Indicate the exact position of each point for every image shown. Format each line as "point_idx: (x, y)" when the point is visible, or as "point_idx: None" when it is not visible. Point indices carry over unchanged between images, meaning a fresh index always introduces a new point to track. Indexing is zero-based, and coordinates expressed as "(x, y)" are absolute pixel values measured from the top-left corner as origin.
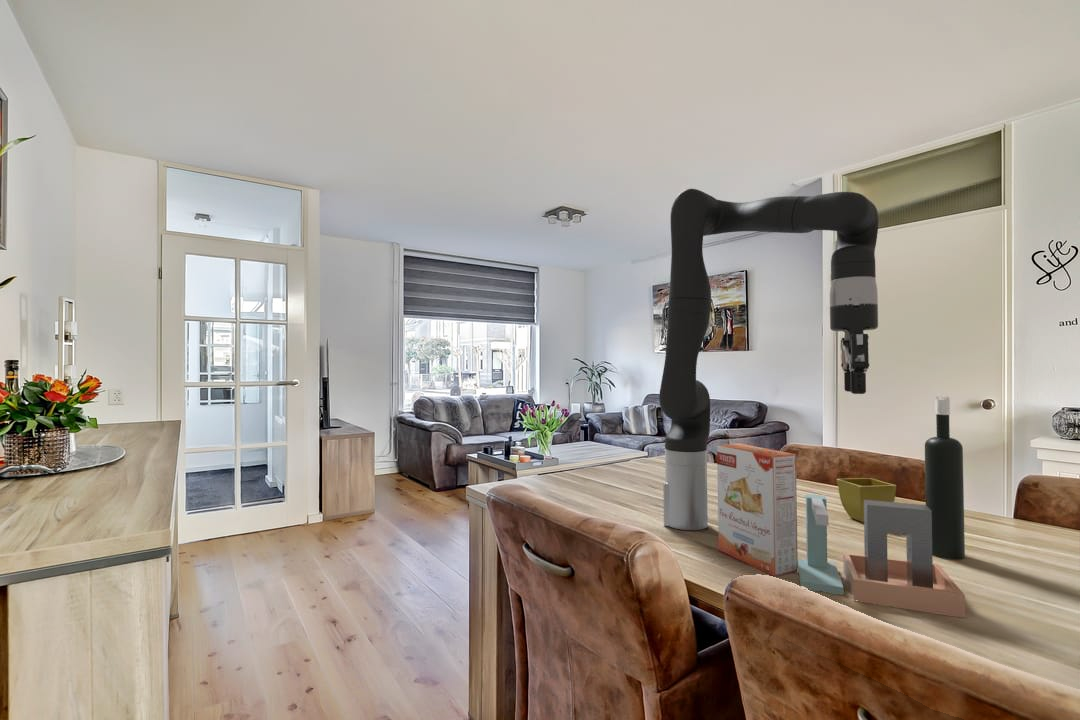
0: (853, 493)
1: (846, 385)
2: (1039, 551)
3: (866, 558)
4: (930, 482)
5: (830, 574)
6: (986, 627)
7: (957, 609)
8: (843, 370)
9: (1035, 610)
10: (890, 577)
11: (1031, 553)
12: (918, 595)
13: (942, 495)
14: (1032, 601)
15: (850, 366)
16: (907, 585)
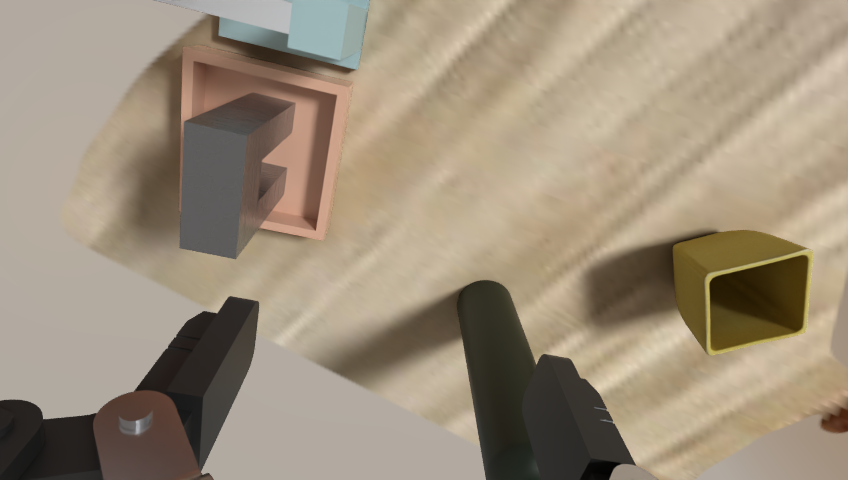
0: (723, 256)
1: (552, 382)
2: None
3: (258, 104)
4: (500, 370)
5: (284, 33)
6: (171, 211)
7: None
8: (634, 473)
9: (260, 303)
10: (314, 153)
11: None
12: None
13: (476, 365)
14: (294, 316)
15: (111, 431)
16: None
